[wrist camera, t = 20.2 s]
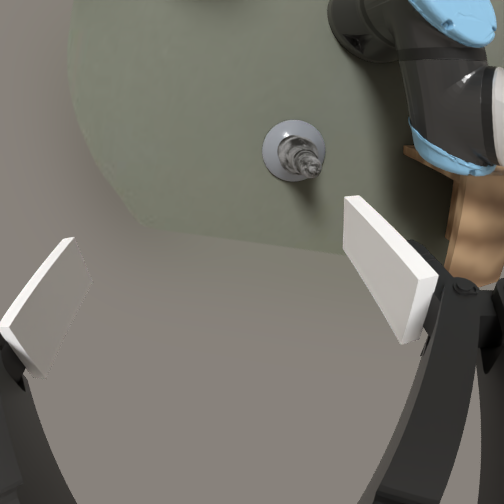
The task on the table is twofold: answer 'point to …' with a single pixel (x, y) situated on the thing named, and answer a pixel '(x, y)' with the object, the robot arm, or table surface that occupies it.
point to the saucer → (280, 133)
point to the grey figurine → (299, 156)
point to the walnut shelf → (473, 224)
